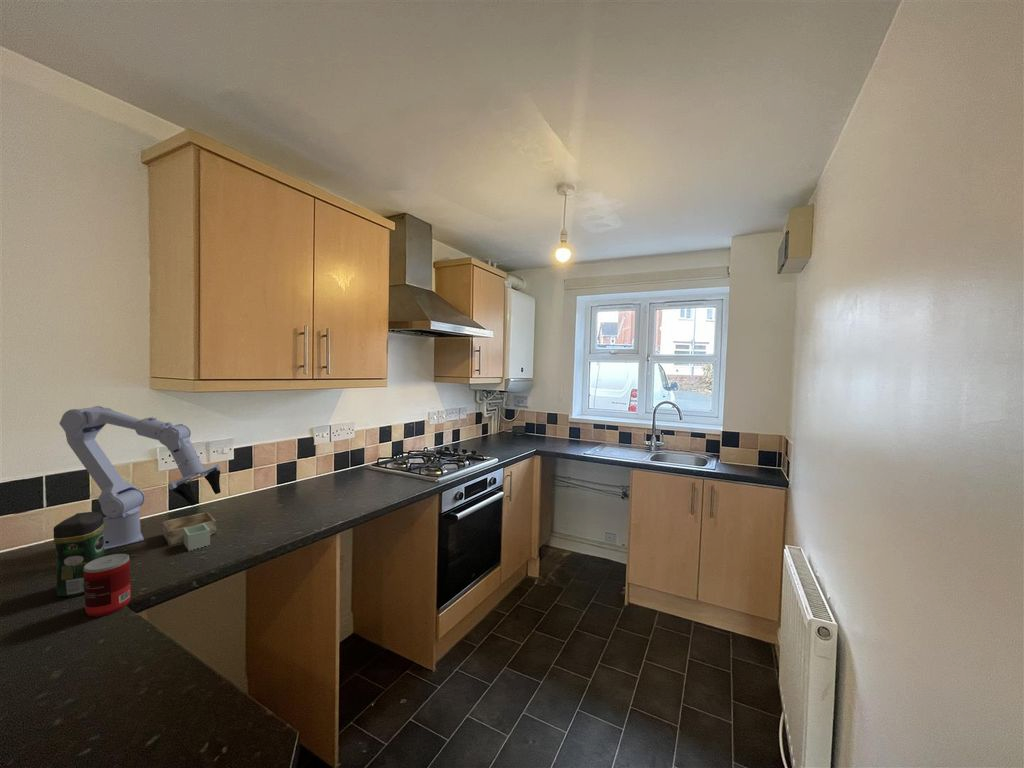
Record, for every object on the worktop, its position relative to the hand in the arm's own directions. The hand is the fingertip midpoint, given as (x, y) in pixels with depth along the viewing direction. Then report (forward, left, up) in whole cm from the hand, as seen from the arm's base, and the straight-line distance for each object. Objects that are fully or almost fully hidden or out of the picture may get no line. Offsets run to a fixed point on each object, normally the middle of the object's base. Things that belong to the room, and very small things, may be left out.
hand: (206, 499), depth 133 cm
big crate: (-3, +7, -13) cm, 15 cm away
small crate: (-3, -4, -13) cm, 14 cm away
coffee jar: (-28, -13, -13) cm, 34 cm away
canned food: (-24, -29, -13) cm, 40 cm away
